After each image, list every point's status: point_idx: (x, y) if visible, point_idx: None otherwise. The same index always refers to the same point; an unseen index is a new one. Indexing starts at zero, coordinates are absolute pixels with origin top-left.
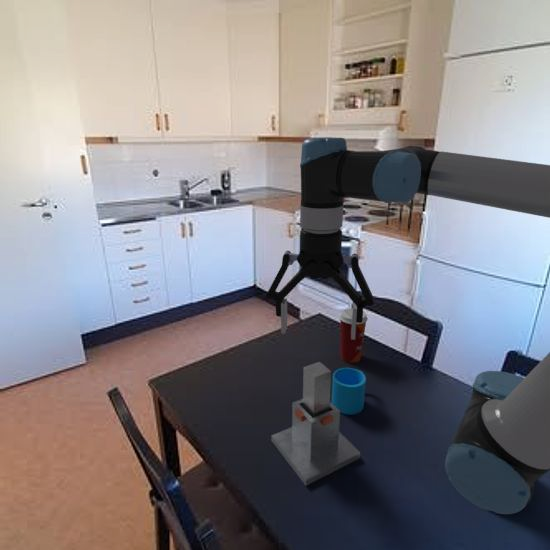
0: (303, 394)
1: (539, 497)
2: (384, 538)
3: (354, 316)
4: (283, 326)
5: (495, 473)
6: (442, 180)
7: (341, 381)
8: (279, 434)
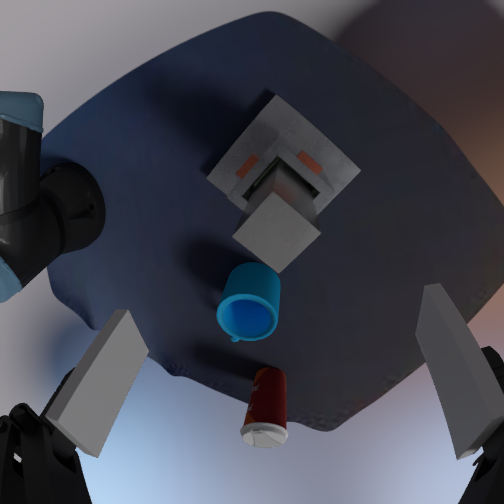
0: (311, 200)
1: None
2: (156, 64)
3: (69, 386)
4: (445, 308)
5: None
6: None
7: (265, 316)
8: (348, 176)
